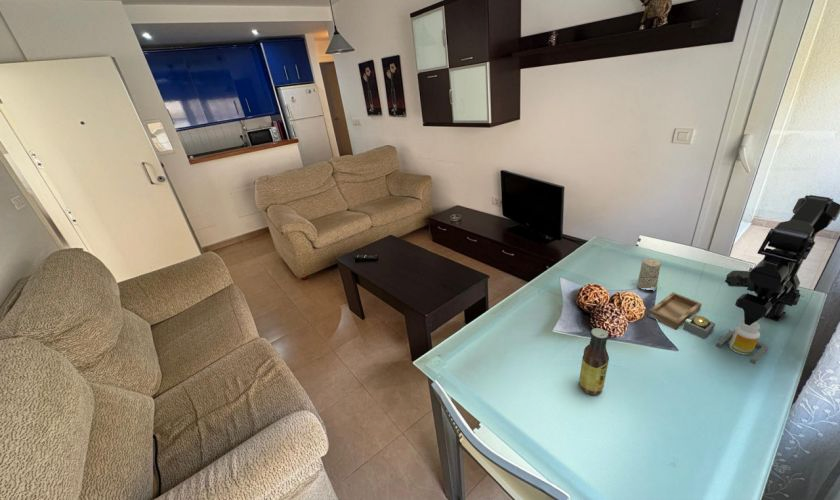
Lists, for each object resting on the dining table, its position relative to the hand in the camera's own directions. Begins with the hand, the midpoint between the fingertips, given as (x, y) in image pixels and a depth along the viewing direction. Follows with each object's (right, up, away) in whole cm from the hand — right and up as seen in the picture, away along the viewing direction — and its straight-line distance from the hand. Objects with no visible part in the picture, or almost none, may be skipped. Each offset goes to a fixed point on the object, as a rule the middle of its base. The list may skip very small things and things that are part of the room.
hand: (753, 317), depth 96 cm
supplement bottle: (+1, -11, +6) cm, 12 cm away
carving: (-7, +4, +36) cm, 37 cm away
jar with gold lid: (-5, -6, +14) cm, 15 cm away
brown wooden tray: (-6, -3, +22) cm, 23 cm away
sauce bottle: (-47, -20, 0) cm, 51 cm away
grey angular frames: (-1, -9, +9) cm, 13 cm away
